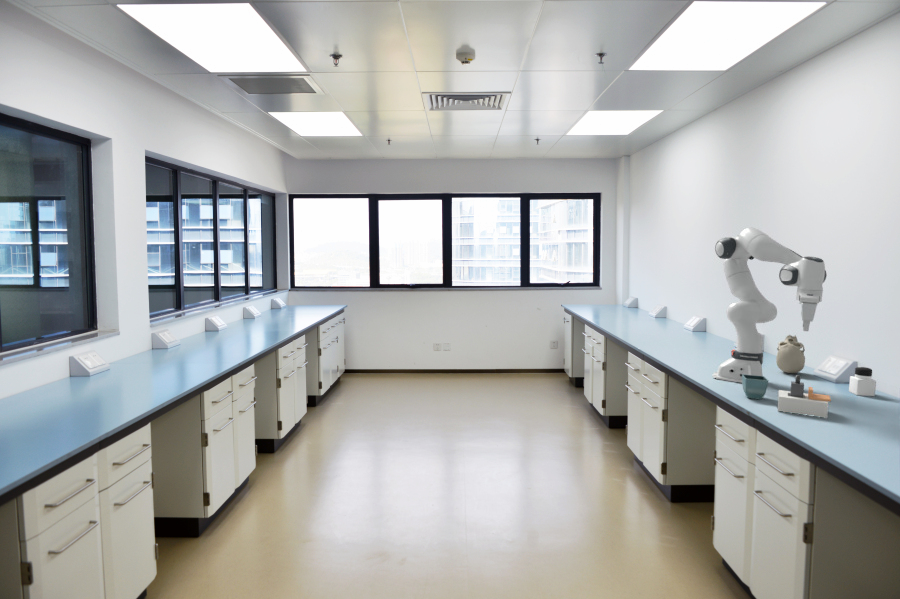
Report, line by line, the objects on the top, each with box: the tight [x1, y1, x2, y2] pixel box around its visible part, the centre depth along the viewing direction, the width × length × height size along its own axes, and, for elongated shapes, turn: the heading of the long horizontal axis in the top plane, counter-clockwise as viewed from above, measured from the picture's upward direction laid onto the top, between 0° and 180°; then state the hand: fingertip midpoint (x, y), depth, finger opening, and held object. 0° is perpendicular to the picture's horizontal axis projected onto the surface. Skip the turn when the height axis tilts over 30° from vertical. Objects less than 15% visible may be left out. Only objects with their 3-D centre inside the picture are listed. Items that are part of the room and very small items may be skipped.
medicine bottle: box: [848, 366, 877, 397], centre depth 241 cm, size 7×7×12 cm
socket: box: [777, 389, 829, 419], centre depth 214 cm, size 16×12×6 cm
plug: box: [790, 374, 805, 398], centre depth 214 cm, size 4×4×12 cm
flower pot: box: [741, 375, 769, 400], centre depth 233 cm, size 9×9×9 cm
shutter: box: [807, 386, 832, 403], centre depth 210 cm, size 7×7×3 cm
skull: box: [775, 334, 806, 374], centre depth 280 cm, size 13×15×20 cm
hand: (805, 329), depth 224 cm, fingers open, 8 cm apart
